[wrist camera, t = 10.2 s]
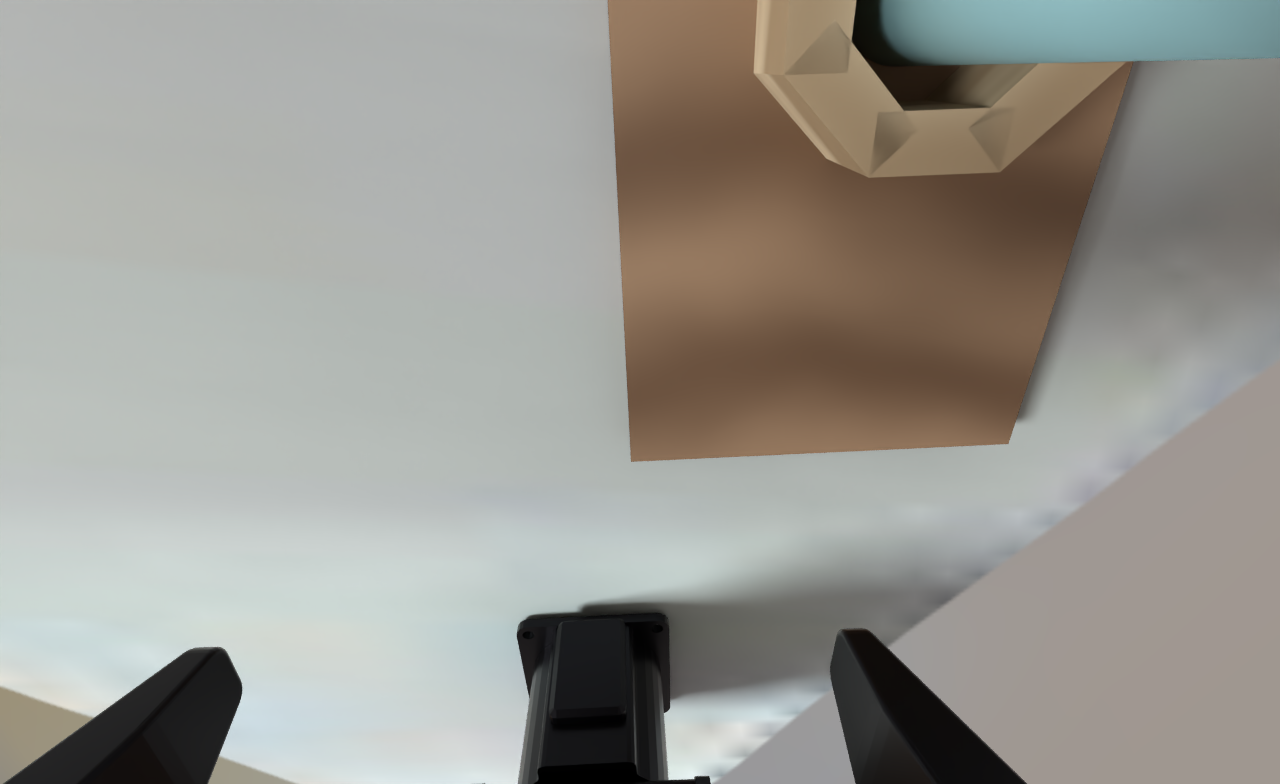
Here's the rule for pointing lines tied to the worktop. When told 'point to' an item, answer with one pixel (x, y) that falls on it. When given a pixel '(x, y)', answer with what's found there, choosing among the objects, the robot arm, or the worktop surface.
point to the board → (820, 258)
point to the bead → (906, 130)
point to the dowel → (1063, 31)
